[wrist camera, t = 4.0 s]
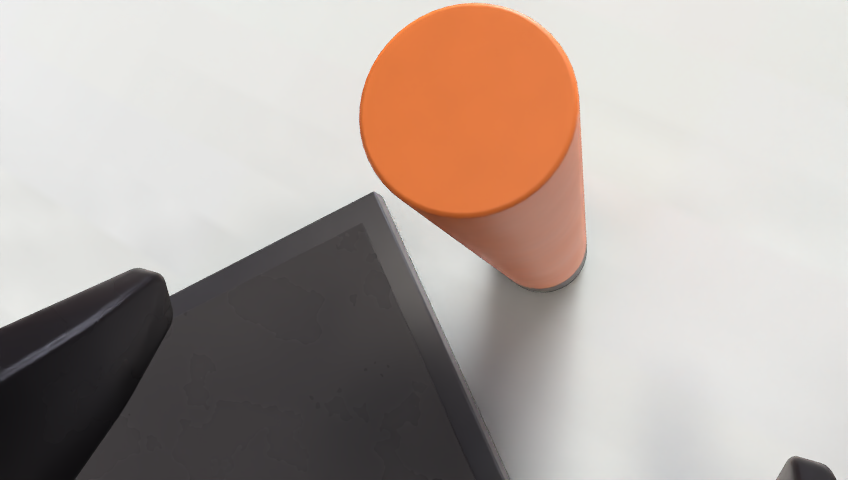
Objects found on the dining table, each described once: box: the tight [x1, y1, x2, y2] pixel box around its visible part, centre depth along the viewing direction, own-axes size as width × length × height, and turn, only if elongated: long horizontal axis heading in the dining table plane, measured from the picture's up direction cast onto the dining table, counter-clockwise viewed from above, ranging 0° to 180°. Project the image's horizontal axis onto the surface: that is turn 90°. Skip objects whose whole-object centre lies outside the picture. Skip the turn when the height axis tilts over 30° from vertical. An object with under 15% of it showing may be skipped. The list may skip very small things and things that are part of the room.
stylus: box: [359, 3, 587, 292], centre depth 14 cm, size 2×2×13 cm
